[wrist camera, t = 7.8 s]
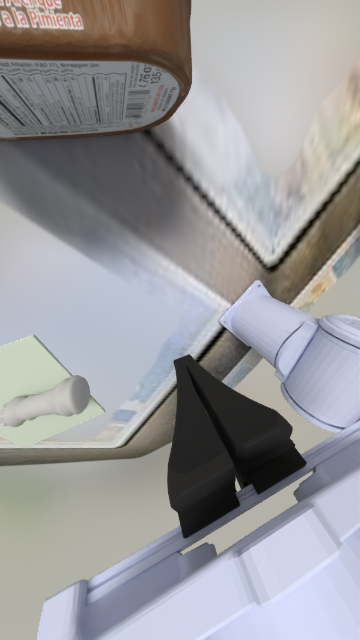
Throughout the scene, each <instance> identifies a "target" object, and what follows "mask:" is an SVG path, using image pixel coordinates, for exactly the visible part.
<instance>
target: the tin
mask: <svg viewBox="0 0 360 640" xmlns="http://www.w3.org/2000/svg"><path fill="white" fill-rule="evenodd" d="M190 15H191V0H0V140H24V139H49V138H71V137H88V136H104V135H118V134H126V133H133V132H138V131H142V130H146V129H149V128H152V127H155V126H157V125H159V124H161V123H163V122H165V121H166V120H168V119H169V118H170V117H171V116H172V115H173V114H174V113H175V112H176V110H177V109H178V107H179V106H180V105H181V104H182V103H183V101H184V100H185V98H186V97H187V95H188V93H189V90H190V88H191V84H192V59H191V38H190Z"/></svg>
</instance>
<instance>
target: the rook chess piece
mask: <svg viewBox="0 0 360 640" xmlns="http://www.w3.org/2000/svg"><path fill="white" fill-rule="evenodd" d="M89 399H90V390H89V385H88V383H87V381H86V380H85V379H84V378H83V377H81V376H78V375H76V376H73V377H72V378H66V379H64V380H63V381H62V382H60V383H59V384H58V385H56V386H55V387H54V388H53V389H51V390H48V391H46V392H44V393H41V394H38V395H36V394H32V395H29V396H28V397H27V398H26V397H24V396H17V397H14V398H13V399H12V400H10V402H7V403H6V404H4V405H3V406H4V407H5V408H4V409H1V410H0V415H1V414H3V418H0V424H1V423H4V422H5V423H4V425H3V426H10V427H18V426H20V425H22V424H23V423H24V422H25V421H26V420H29V421H32V420H34V419H36V418H37V417H39V416H43V415H50V414H56V415H61V416H66V417H70V416H72V415H74V414H76V415H79V414H80V413H82V412H83V411H84V410H85V409H86V407H87V405H88V403H89Z"/></svg>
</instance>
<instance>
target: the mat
mask: <svg viewBox="0 0 360 640" xmlns="http://www.w3.org/2000/svg"><path fill="white" fill-rule="evenodd" d="M72 377H73V376H72V374H71V373H70V372H69V371H68V370H67V369H66V368H65V367H64V366H63V365H62V364H61V363H60V362H59V361H58V359H57V358H56V357H54V355H53V354H52V353H51V352H50V351H49V350H48V349H47V348H46V347H45V346H44V345H43V344H42V342H41V341H40V340H39V339H38V338H37V337H36V336H35V335H31V336H28V337H25V338H22V339H19V340H17V341H13V342H11V343H8V344H5V345H2V346H0V410H1V409H4V408H5V407H4V406H3V405H4V404H6V403H7V402H10V400H12V399H13V398H14V397H17V396H24V397H26V398H27V397H28V396H29V395H32V394H36V395H38V394H41V393H44V392H46V391H48V390H51V389H53V388H54V387H55V386H56V385H58V384H59V383H60V382H62V381H63V380H64V379H66V378H72ZM103 413H105V410H104V409H103V408H102V407H101V405H100V404H99V403H98V402H97V401H96V400H95V399H94V398H93V397H92V396H91V395H90V399H89V403H88V405H87V407H86V409H85V410H84V411H83V412H82V413H80V414H79V415H76V414H74V415H72V416H70V417H66V416H61V415H56V414H50V415H43V416H39V417H37V418H36V419H34V420H32V421H29V420H26V421H25V422H24V423H23V424H22V425H20V426H18V427H10V426H3V425H4V423H5V422H4V423H1V424H0V436H1V437H3V438H5V439H7V440H9V441H11V442H13V443H15V444H17V445H19V446H21V447H23V448H25V447H28V446H30V445H32V444H34V443H37V442H39V441H41V440H44V439H46V438H48V437H50V436H53V435H55V434H57V433H59V432H61V431H64V430H66V429H69V428H71V427H73V426H75V425H78V424H80V423H82V422H85V421H87V420H89V419H91V418H94V417H96V416H98V415H100V414H103ZM0 418H3V414H1V415H0Z"/></svg>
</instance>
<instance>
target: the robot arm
mask: <svg viewBox="0 0 360 640" xmlns="http://www.w3.org/2000/svg"><path fill="white" fill-rule="evenodd" d="M258 285H259V286H258ZM219 322H220V323H221V324H222V325H223V326H224V327H225V328H227V329H228V330H229V331H230V332H231V333H233V334H234V335H235V336H236V337H237V338H239V339H240V340H241V341H242V342H243V343H245V344H246V345H247V346H251V347H252V348H253V349H254V350H255V351H257V352H258V353H259V354H260V355H261V356H262V357H263V358H264V359H266V360H267V361H268V362H269V363H270V364H271V365H272V366H273V367H275V368H276V373H275V376H276V377H277V378H279V379H280V380H281V381H282V383H281V391H282V394H283V396H284V397H285V399H286V400H287V402H288V403H289V404H290V405H291V407H292V408H293V409H294V410H295V411H296V412H297V413H298V414H300V415H301V416H302V417H304V418H305V419H306V420H308V421H309V422H311V423H313V424H315V425H316V426H318V427H320V428H322V429H325V430H327V431H330V432H334V433H337V434H335V435H333V436H332V437H330V438H328V439H327V440H325V441H323V442H321V443H320V444H318V445H316V446H315V447H313V448H311V449H310V450H308V451H306V452H304V453H303V454H300V453H299V452H298V451H297V449H296V448H295V444H294V443H293V441H292V440H291V439H290V436H291V434H292V426H291V425H290V424H289V423H288V421H287V420H286V419H284V417H282V416H281V415H280V414H279V413H278V412H277V411H275V410H274V409H271V408H268V407H266V406H264V405H262V404H260V403H258V402H255V401H253V400H251V399H249V398H247V397H246V396H244V395H242V394H240V393H238V392H236V391H235V390H233V389H231V388H230V387H228V386H227V385H225V384H224V383H222V382H221V381H219V380H218V379H216V378H215V377H214V376H212V375H211V374H210V373H209V372H207V371H206V370H205V369H204V368H203V367H202V366H201V365H199V364H198V363H197V362H196V361H195V360H194V359H193V357H192V356H191V355H189V354H188V355H186V356H184V357H181V358H179V359H176V360H174V365H175V370H176V377H177V411H176V421H175V429H174V435H173V442H172V448H171V453H170V457H169V462H168V478H167V481H168V482H167V484H168V495H169V500H170V505H171V508H173V509H174V510H175V511H176V512H178V516H179V520H180V525H181V526H179V527H177V528H176V529H174V530H172V531H170V532H169V533H167V534H165V535H164V536H162V537H160V538H159V539H157V540H155V541H154V542H152V543H150V544H148V545H147V546H145V547H143V548H142V549H140V550H138V551H137V552H135V553H133V554H132V555H130V556H128V557H126V558H125V559H123V560H121V561H120V562H118V563H116V564H114V565H113V566H111V567H109V568H108V569H106V570H105V571H103V572H101V573H99V574H98V575H96V576H94V577H92V578H91V579H89V580H80V581H78V582H75V583H73V584H71V585H69V586H68V587H66V588H64V589H63V590H61V591H59V592H57V593H56V594H54V595H52V596H50V597H49V598H47V599H46V600H45V602H44V605H43V609H42V614H41V619H40V624H39V629H38V634H37V639H36V640H360V318H359V317H355V316H351V315H346V314H331V315H325V316H323V317H321V319H318V318H316V317H313V316H311V315H309V314H307V313H305V312H302V311H300V310H298V309H296V308H294V307H291V306H289V305H287V304H285V303H283V302H280V301H278V300H276V299H274V298H272V297H271V296H270V294H269V293H268V292H267V290H266V289H265V287H264V286H263V285H262V283H261V282H260V281H259V280H256V281H254V283H253V284H252V285H251V286H250V287H249V288H248V289H247V290H246V291H245V292H244V293H243V294H242V295H241V297H240V298H239V299H238V300H237V301H236V302H235V303H234V304H233V305H232V306H231V307H230V308H229V310H228V311H227V312H226V313H225V314H224V315H223V316H222V317H221V318H220V319H219ZM203 406H204V407H203ZM204 408H205V409H204ZM205 410H206V411H205ZM206 412H207V413H206ZM207 414H208V415H207ZM208 416H209V417H208ZM209 418H210V419H209ZM311 471H313V474H312V475H311V476H309V477H308V478H307V479H306V480H304V481H303V482H302V483H300V484H299V487H298V488H297V490H295V491H294V496H295V497H296V499H297V500H298V503H297V504H296V505H294V506H292V507H290V508H289V509H287V510H286V511H284V512H282V513H281V514H279V515H278V516H276V517H275V518H273V519H271V520H270V521H268V522H267V523H265V524H264V525H262V526H261V527H259V528H258V529H256V530H254V531H253V532H251V533H250V534H248V535H247V536H245V537H244V538H243V539H241V540H239V541H238V542H236V543H235V544H233V545H232V546H230V547H229V548H228V549H226V550H225V551H223V552H222V553H220V554H219V555H217V553H216V549H215V546H214V545H213V544H208V543H207V542H206V543H204V544H202V545H200V546H198V547H196V548H195V549H193V550H191V551H189V552H187V553H186V554H184V555H183V554H182V553H180V552H181V551H183V550H184V549H186V548H188V547H189V546H191V545H192V544H194V543H196V542H197V541H199V540H201V539H202V538H204V537H206V536H207V535H209V534H210V533H212V532H214V531H215V530H217V529H218V528H220V527H222V526H223V525H225V524H227V523H228V522H230V521H231V520H233V519H235V518H236V517H238V516H240V515H241V514H243V513H244V512H246V511H248V510H249V509H251V508H253V507H254V506H256V505H257V504H259V503H261V502H262V501H264V500H266V499H267V498H269V497H270V496H272V495H274V494H275V493H277V492H278V491H280V490H282V489H283V488H285V487H286V486H288V485H290V484H291V483H293V482H295V481H296V480H298V479H300V478H301V477H303V476H304V475H306V474H308V473H309V472H311ZM235 476H236V478H237V481H238V483H239V485H240V488H241V490H240V491H239V492H237V491H236V488H235ZM236 492H237V493H236Z"/></svg>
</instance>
